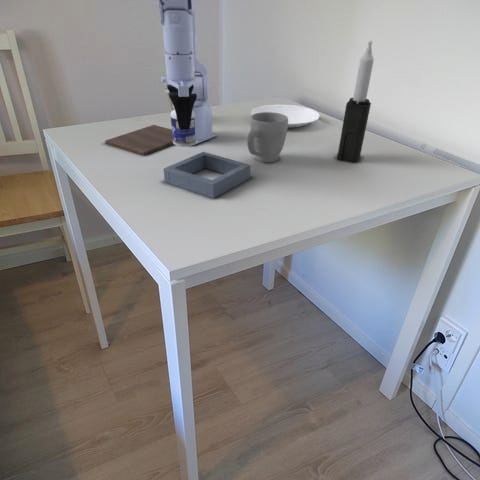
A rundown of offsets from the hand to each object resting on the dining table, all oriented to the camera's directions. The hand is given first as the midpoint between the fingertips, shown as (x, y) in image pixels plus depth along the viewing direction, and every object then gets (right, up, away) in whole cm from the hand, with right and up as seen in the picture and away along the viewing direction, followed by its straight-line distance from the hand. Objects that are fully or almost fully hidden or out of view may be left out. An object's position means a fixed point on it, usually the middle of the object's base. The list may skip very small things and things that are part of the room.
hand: (183, 124), depth 93 cm
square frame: (+5, -11, +2) cm, 13 cm away
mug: (+18, -3, +12) cm, 22 cm away
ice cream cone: (-7, +18, +36) cm, 40 cm away
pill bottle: (0, -3, +3) cm, 4 cm away
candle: (+40, -2, +15) cm, 42 cm away
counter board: (-12, +6, +21) cm, 25 cm away
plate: (+26, +18, +38) cm, 49 cm away
